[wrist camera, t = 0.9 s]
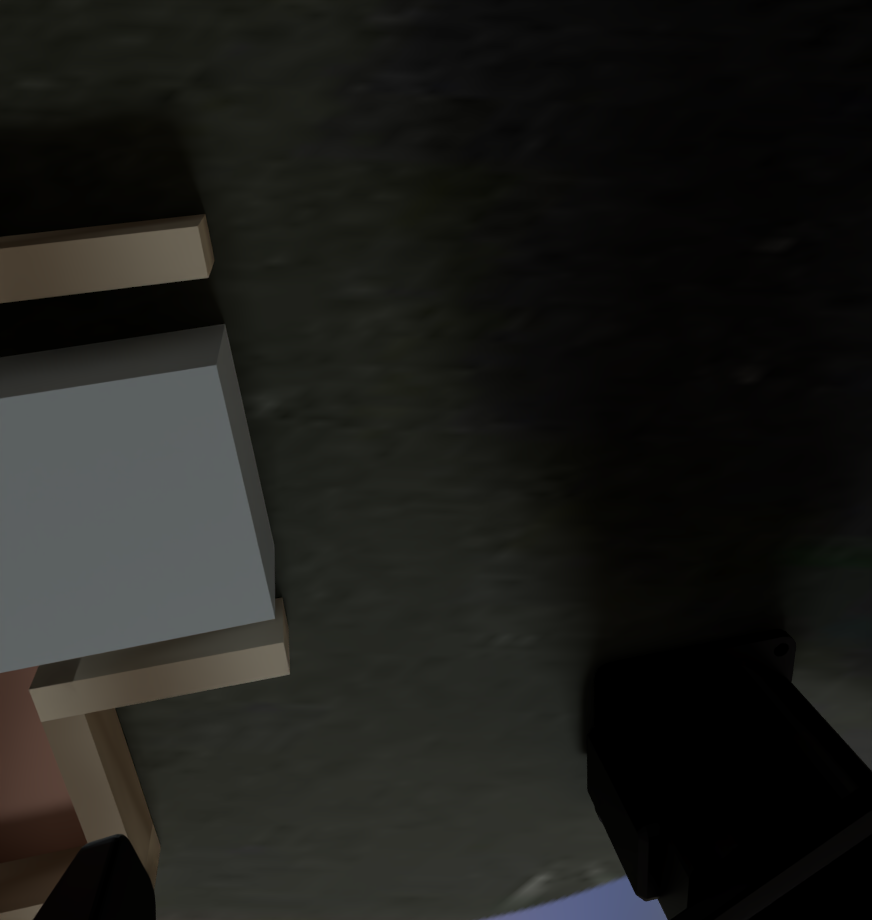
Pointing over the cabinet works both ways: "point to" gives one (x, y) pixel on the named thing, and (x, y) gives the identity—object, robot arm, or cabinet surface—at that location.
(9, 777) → the box
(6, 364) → the block
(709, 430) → the cabinet surface
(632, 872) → the robot arm
